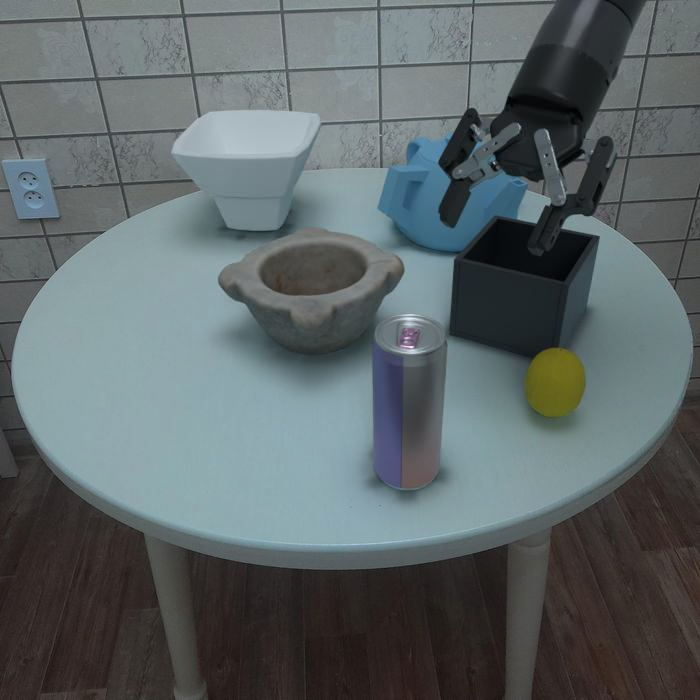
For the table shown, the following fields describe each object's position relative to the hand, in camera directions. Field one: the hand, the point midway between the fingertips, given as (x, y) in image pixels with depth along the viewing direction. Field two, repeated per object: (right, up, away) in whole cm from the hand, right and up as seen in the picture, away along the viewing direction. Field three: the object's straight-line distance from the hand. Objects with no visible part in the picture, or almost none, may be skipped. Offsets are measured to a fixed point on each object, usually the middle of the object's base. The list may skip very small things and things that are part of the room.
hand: (488, 237), depth 61 cm
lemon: (+8, -16, +10) cm, 20 cm away
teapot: (+4, +8, +43) cm, 44 cm away
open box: (+8, -6, +23) cm, 25 cm away
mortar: (-16, -8, +23) cm, 29 cm away
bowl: (-25, +9, +47) cm, 54 cm away
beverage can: (-7, -21, +4) cm, 22 cm away
